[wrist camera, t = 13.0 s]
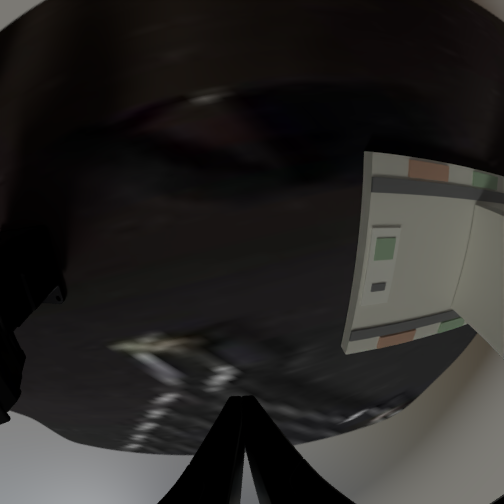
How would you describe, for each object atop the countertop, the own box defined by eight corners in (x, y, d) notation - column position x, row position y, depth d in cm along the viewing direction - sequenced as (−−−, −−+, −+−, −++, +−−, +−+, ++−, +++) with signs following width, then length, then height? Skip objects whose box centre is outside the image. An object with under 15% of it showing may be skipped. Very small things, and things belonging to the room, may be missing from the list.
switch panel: (341, 345, 22) (346, 356, 21) (364, 151, 16) (374, 152, 15) (467, 316, 24) (475, 322, 22) (499, 175, 18) (510, 178, 16)
